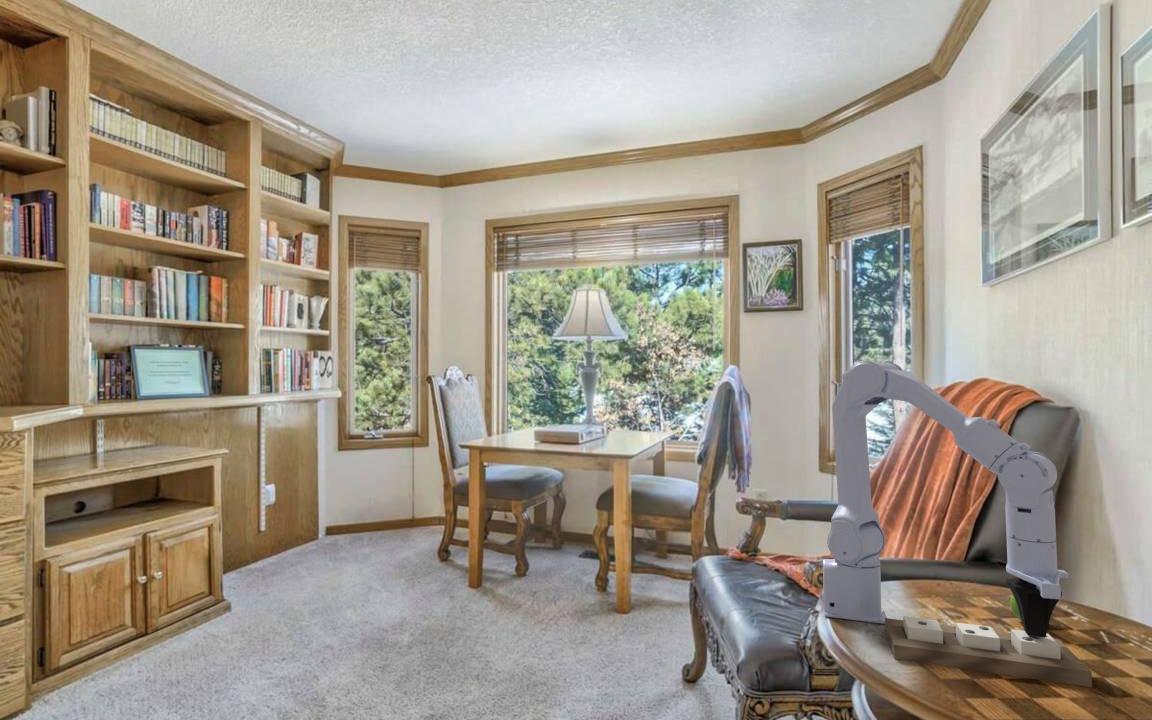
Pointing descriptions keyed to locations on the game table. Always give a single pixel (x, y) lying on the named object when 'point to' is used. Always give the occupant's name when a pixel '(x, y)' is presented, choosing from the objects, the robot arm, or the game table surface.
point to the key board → (987, 657)
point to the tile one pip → (922, 630)
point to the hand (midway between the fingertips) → (1035, 634)
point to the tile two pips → (977, 636)
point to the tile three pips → (1035, 645)
